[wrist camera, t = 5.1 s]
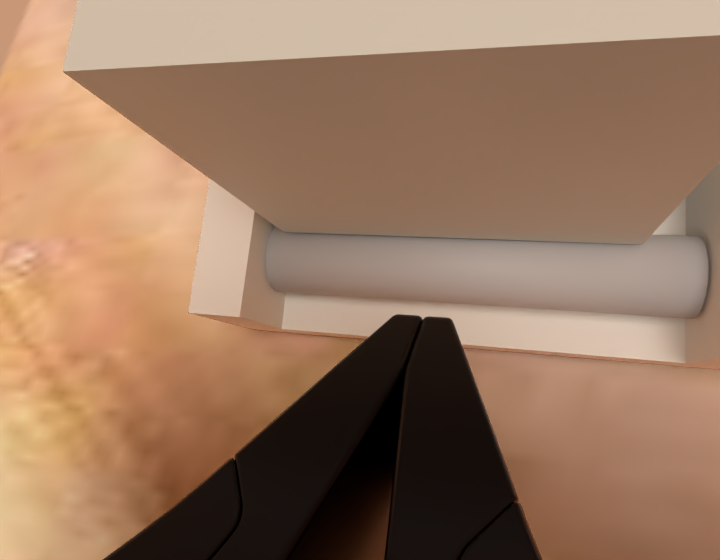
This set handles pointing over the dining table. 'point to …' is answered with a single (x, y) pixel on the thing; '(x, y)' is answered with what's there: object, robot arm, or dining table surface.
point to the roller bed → (472, 322)
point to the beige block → (423, 108)
